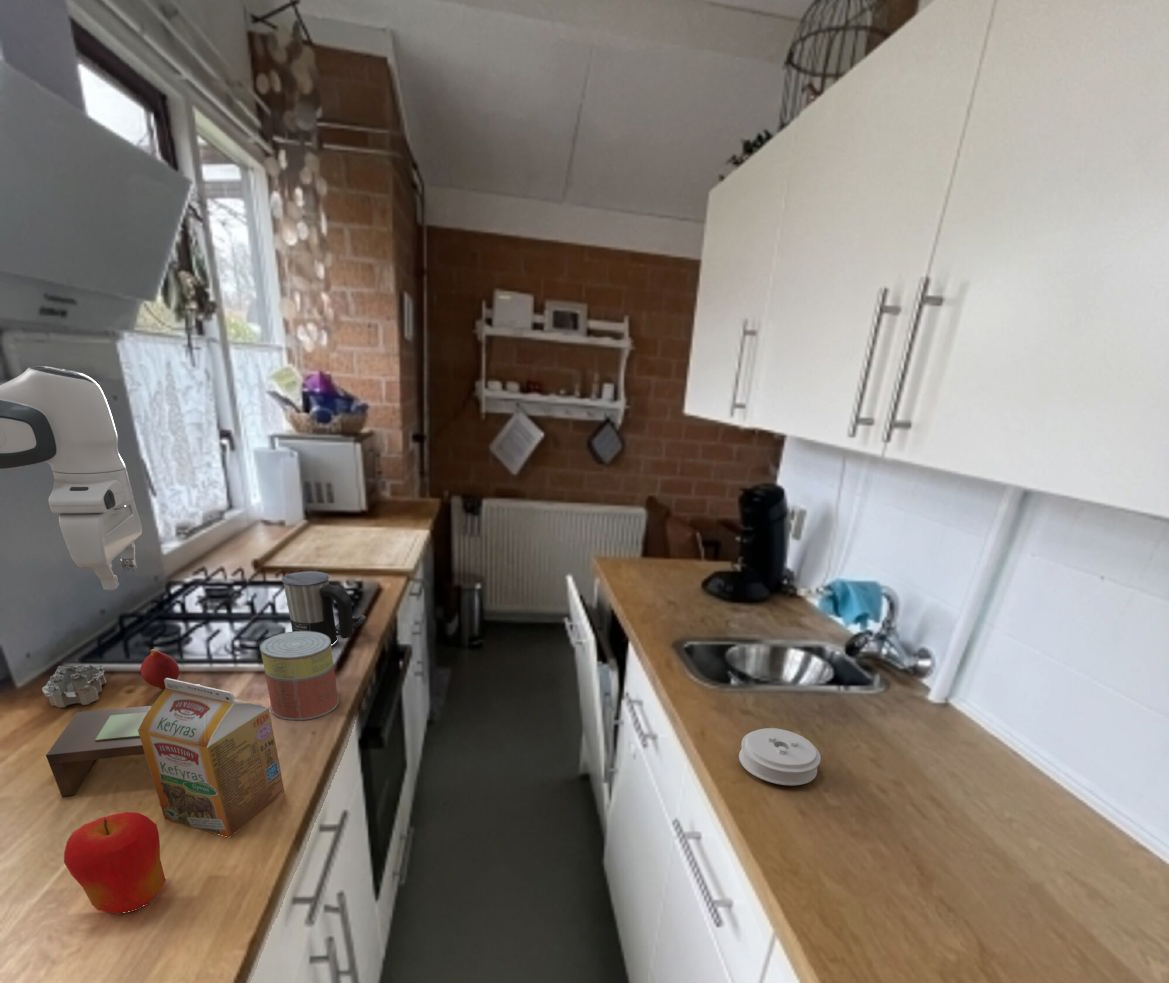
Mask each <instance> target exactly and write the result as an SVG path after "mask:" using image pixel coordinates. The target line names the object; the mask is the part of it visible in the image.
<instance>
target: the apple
mask: <svg viewBox="0 0 1169 983" xmlns="http://www.w3.org/2000/svg"><path fill="white" fill-rule="evenodd" d="M63 864H64V865H65V867H66V869H67V871H68V873H69V874H70V875H71V877H72V878H73V879H74V880H75V881H77V883H78V884H79V886H80V887H81V888H82V889H83V891H84V893H85V895H86V897H87V898H88V900H89V902H90V904H91V906H93V907H94V908H95V909H96V910H97V911H99V912H104V913H105V912H106V913H111V914H116V913H122V914H124V913H123V912H128V911H132V910H135V909H138V908H140V907H142V906H143V905H146V904H147V905H149V904H150V903H151V902H152V901H153V900H154V899H155V897H156V896H157V894H158V893H159V892H160V891H161V889H162V888H163V886H164V884H165V881H166V876H165V872H164V868H163V863H162V861H161V842H160V832H159V828H158V824H156V823H155V822H154V821H153V820H152V819H151V818H149V817H148V815H145V814H143V813H141V812H134V811H124V812H118V813H111V814H109V815H106V816H103V817H99V818H97V819H94V820H92V821H90V822H87V823H84V824H82V825H81V826H80V827H78V828H77V829H75V830H74V831H73V832H71V834H70V836H69V837H68V839H67V841H66V843H65V848H64V850H63ZM153 898H154V899H153ZM152 899H153V900H152ZM151 900H152V901H151ZM150 901H151V902H150ZM147 905H146V906H147ZM142 908H143V907H142ZM140 909H141V908H140ZM138 910H139V909H138ZM135 911H136V910H135ZM132 912H133V911H132Z"/></svg>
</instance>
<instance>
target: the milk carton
mask: <svg viewBox="0 0 1169 983" xmlns="http://www.w3.org/2000/svg"><path fill="white" fill-rule="evenodd" d="M164 683H165V687H166V689H163V691H162V692H161V693H160V695H158V697H157V699H155V701H154V703H153V704H152V705H151V706H152V707H151V708H150V710H149V711H148V713H147V714H146V716H145V717H144V719H143V721H142V723H141V725H140V727H139V729H138V733H139V736H140V739H141V742H142V746H143V749H144V752H145V754H144V755H145V759H146V762H147V765H148V766H147V767H148V769H149V772H150V776H151V778H152V782H153V785H154V788H155V789H154V790H155V791H156V794H157V799H158V802H159V805H160V808H161V812H162V815H163V818H164V820H165V821H169V822H172V823H174V824H175V823H176V824H179V825H181V826H186V827H190V828H193V829H197V830H200V831H202V832H203V831H204V832H208V833H210V832H211V833H210V834H214V833H215V834H214V835H217V834H220V835H219V836H221V835H223V836H222V837H224V836H227V837H226V838H228V837H230V836H231V837H233V836H234V835H235V834H236V833H238V832H239V831H240V830H241V829H243V828H244V827H245V826H246V825H248V824H249V823H250V822H251V821H252V820H253V819H255V818H256V817H257V816H259V815H260V814H261V813H262V812H263V811H264V810H266V809H268V807H269V806H270V805H272V804H273V803H275V801H277V800H278V799H279V798H280V797H281V796H283V795H284V794H285V793H286V792H285V785H284V781H283V775H282V771H281V765H280V759H279V755H278V754H279V753H278V749H277V743H276V739H275V738H276V737H275V734H274V727H273V722H272V717H271V712H270V708H269V707H267V706H265V705H262V704H259V703H255V702H250V701H247V700H241V699H237V698H235V694H234V693H233V692H231V691H228V690H223V689H218V688H215V687H210V686H205V685H201V684H200V685H197V684H198V683H191V682H187V681H184V680H183V681H182V680H179V679H177V680H174V679H170V678H166V679H164ZM260 812H261V813H260ZM249 821H250V822H249ZM239 829H240V830H239ZM237 831H238V832H237ZM235 832H236V833H235ZM234 833H235V834H234ZM233 834H234V835H233ZM232 835H233V836H232ZM231 837H230V838H231Z"/></svg>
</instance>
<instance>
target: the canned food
mask: <svg viewBox="0 0 1169 983" xmlns="http://www.w3.org/2000/svg"><path fill="white" fill-rule="evenodd" d="M259 651H260V654H261V658H262V664H263V670H264V675H265V681H266V685H267V692H268V697H269V702H270V711H271V713H272V714H273V715H274V716H276V717H277V718H280V719H283V720H289V721H304V720H305V721H307V720H311V719H316V718H319V717H322V716H325V715H327V714H329V713H331V712H332V711H334V710H335V709H336V708H337V707H338V705H339V702H340V699H339V696H338V689H337V681H336V673H335V666H334V659H333V651H332V647H331V639H330V638H329V637H328V636H327V635H325V634H322V633H318V632H312V631H294V632H292V631H288V632H283V633H279V634H275V635H273V636H270V637H268V638H266V639H265V640H263V641H262V642H261V644H259Z"/></svg>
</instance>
